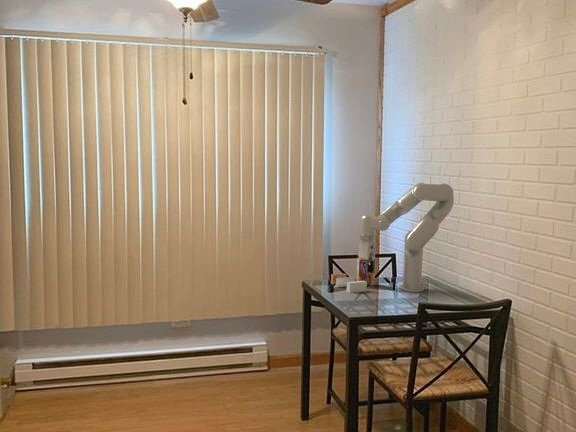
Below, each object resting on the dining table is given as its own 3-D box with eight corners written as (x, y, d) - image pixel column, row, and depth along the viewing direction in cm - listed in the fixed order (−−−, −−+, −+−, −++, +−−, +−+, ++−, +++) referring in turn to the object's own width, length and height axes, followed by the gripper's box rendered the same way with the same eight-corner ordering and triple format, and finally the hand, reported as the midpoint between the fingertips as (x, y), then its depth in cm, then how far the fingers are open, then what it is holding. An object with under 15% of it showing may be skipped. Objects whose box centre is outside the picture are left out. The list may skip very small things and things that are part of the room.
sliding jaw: (345, 282, 328) (345, 273, 328) (354, 286, 320) (354, 276, 320) (329, 283, 324) (329, 274, 324) (337, 287, 316) (338, 277, 315)
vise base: (347, 284, 330) (348, 273, 330) (369, 293, 310) (370, 281, 310) (325, 285, 324) (325, 274, 324) (346, 295, 305) (346, 283, 304)
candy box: (371, 285, 328) (373, 257, 327) (374, 287, 324) (375, 259, 323) (355, 285, 327) (357, 257, 325) (358, 287, 323) (359, 259, 321)
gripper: (382, 240, 317) (380, 273, 318) (364, 235, 332) (362, 266, 334) (370, 241, 313) (367, 273, 315) (352, 236, 329) (350, 267, 331)
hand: (365, 270), depth 325 cm, fingers open, 9 cm apart
